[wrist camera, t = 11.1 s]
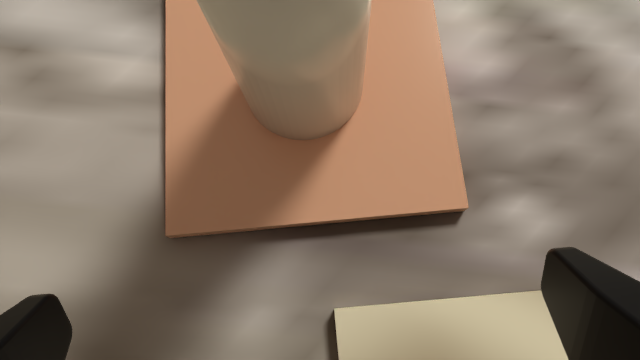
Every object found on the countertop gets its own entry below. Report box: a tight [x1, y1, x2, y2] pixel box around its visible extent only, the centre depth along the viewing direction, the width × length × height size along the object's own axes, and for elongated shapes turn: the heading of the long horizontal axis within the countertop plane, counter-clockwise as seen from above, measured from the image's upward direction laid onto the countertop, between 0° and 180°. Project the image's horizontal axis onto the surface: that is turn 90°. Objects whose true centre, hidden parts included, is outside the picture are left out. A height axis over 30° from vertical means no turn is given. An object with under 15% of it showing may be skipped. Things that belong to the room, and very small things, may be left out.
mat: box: [165, 0, 469, 238], centre depth 18 cm, size 11×11×1 cm
